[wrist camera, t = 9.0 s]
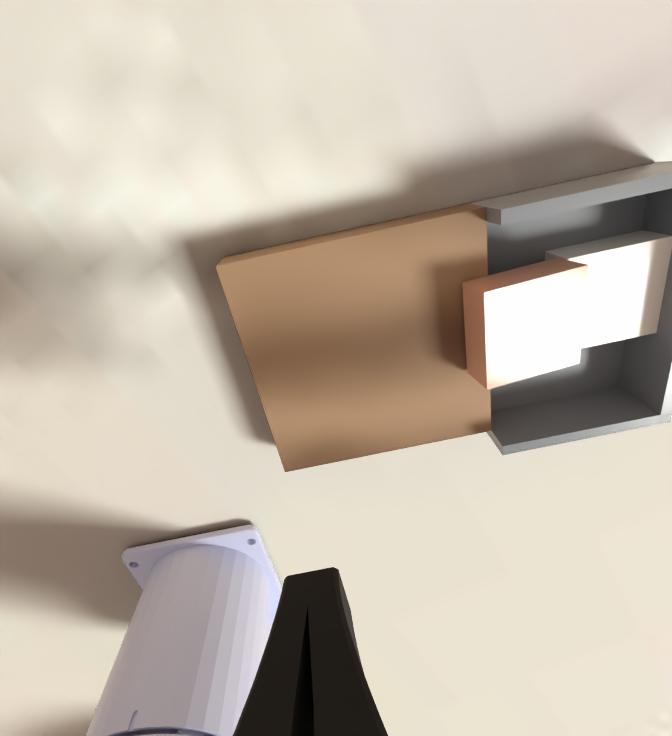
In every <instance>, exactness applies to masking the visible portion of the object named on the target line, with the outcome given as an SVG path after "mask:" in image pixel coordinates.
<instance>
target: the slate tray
mask: <svg viewBox="0 0 672 736" xmlns="http://www.w3.org/2000/svg"><path fill="white" fill-rule="evenodd" d="M468 204H473V205H479V206H484V207H486V218H487V262H488V276H489V275H493V274H496V273H500V272H504V271H508V270H512V269H516V268H519V267H523V266H527V265H531V264H535V263H538V262H542V261H545V251H549V250H553V249H558V248H562V247H567V246H572V245H576V244H581V243H585V242H590V241H595V240H599V239H604V238H608V237H613V236H618V235H622V234H627V233H631V232H636V231H640V230H643V231H649V232H655V233H661V234H667V235H672V161H670V162H654V163H649V164H645V165H640V166H636V167H631V168H627V169H622V170H618V171H613V172H609V173H604V174H599V175H595V176H590V177H586V178H581V179H577V180H572V181H568V182H563V183H559V184H554V185H549V186H545V187H540V188H536V189H531V190H527V191H522V192H518V193H513V194H509V195H504V196H499V197H495V198H490V199H486V200H481V201H477V202H472V203H468ZM490 395H491V431H487V433H488V435H489V436H490V437H491V439H492V440H493V442H494V443H495V445H496V446H497V448H498V449H499V450H500V452H501V453H502V455H506V454H511V453H516V452H521V451H526V450H531V449H536V448H541V447H546V446H551V445H556V444H561V443H566V442H571V441H576V440H581V439H586V438H591V437H596V436H601V435H606V434H611V433H616V432H621V431H626V430H631V429H636V428H641V427H646V426H651V425H656V424H661V423H666V422H670V419H671V415H672V251H671V256H670V262H669V267H668V272H667V278H666V283H665V289H664V294H663V299H662V305H661V310H660V315H659V321H658V326H657V332H656V333H653V334H648V335H644V336H639V337H634V338H629V339H624V340H620V341H615V342H610V343H605V344H601V345H596V346H591V347H586V348H581V352H580V362H579V364H575V365H572V366H568V367H565V368H561V369H558V370H554V371H551V372H547V373H544V374H540V375H537V376H533V377H530V378H527V379H523V380H520V381H516V382H513V383H509V384H506V385H502V386H499V387H495V388H492V389H490Z"/></svg>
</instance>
